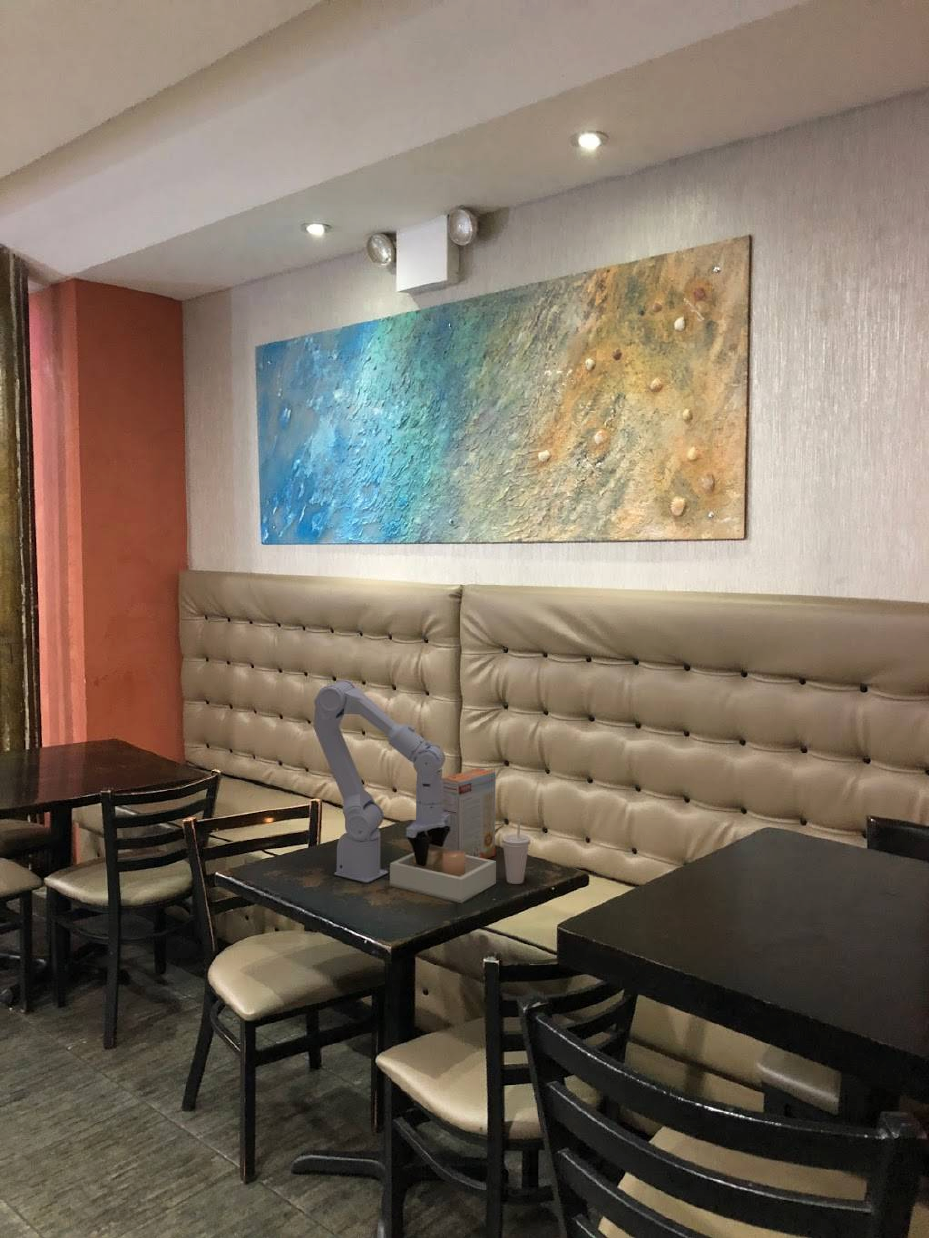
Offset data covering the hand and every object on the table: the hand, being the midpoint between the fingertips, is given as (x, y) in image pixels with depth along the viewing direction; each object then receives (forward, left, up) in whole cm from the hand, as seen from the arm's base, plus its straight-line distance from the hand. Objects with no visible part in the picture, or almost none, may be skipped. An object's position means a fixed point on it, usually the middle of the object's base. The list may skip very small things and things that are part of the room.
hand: (428, 861), depth 211 cm
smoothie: (+16, +11, -5) cm, 20 cm away
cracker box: (0, +17, -5) cm, 18 cm away
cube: (0, 0, -2) cm, 2 cm away
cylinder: (+7, 0, -4) cm, 8 cm away
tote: (+4, 0, -4) cm, 6 cm away
